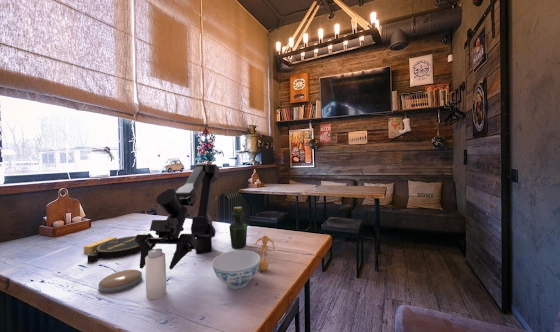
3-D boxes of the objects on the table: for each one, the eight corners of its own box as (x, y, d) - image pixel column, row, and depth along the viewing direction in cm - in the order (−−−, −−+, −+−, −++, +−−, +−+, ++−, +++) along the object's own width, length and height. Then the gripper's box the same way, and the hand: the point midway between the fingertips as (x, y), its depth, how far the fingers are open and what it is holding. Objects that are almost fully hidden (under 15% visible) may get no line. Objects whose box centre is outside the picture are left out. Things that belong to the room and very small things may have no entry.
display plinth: (146, 272, 82) (146, 267, 82) (134, 289, 71) (134, 283, 71) (109, 277, 79) (108, 271, 79) (90, 296, 68) (90, 289, 68)
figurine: (249, 271, 81) (248, 237, 81) (257, 263, 87) (256, 232, 87) (271, 274, 78) (270, 239, 78) (277, 266, 84) (277, 234, 84)
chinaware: (220, 272, 81) (220, 250, 81) (263, 271, 81) (262, 250, 80) (205, 297, 66) (204, 270, 66) (257, 297, 66) (256, 270, 65)
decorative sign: (123, 231, 122) (165, 233, 117) (124, 238, 122) (165, 240, 117) (61, 253, 93) (113, 257, 88) (62, 261, 94) (113, 266, 89)
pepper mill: (168, 288, 71) (166, 246, 71) (164, 297, 66) (162, 253, 66) (149, 291, 70) (148, 248, 70) (143, 301, 65) (142, 255, 65)
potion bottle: (250, 247, 104) (250, 207, 104) (234, 251, 99) (233, 210, 99) (243, 242, 111) (242, 205, 110) (227, 246, 106) (226, 207, 106)
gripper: (137, 208, 74) (109, 256, 63) (193, 208, 72) (174, 257, 61) (153, 226, 82) (131, 271, 71) (204, 226, 80) (189, 273, 69)
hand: (155, 268), depth 68 cm, fingers open, 9 cm apart
